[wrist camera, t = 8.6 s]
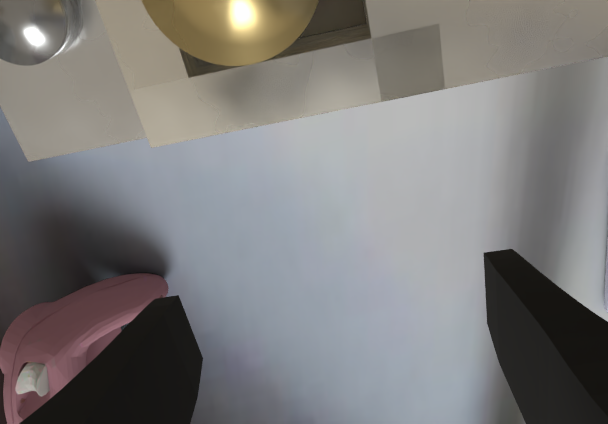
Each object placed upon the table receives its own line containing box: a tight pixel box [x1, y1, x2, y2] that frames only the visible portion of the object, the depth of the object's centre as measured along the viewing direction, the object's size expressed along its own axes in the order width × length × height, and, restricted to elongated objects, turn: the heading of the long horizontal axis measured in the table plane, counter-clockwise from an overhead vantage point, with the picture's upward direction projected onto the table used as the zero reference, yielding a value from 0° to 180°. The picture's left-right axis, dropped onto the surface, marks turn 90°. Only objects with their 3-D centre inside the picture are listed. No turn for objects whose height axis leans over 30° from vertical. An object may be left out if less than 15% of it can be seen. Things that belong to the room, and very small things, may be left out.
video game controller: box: [0, 273, 168, 424], centre depth 24 cm, size 10×5×7 cm, turn 1°
